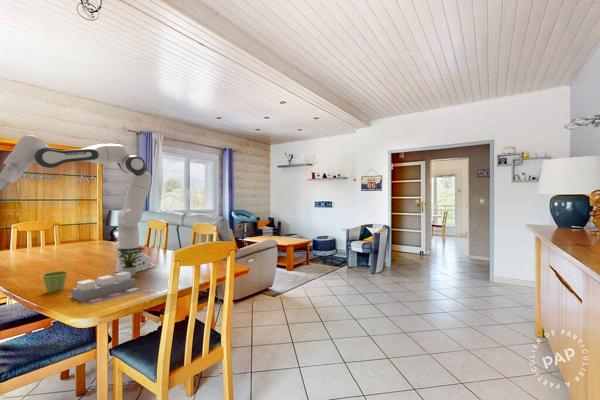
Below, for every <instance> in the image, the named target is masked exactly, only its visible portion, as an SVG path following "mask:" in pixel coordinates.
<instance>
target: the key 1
mask: <svg viewBox="0 0 600 400" xmlns="http://www.w3.org/2000/svg"><path fill="white" fill-rule="evenodd" d="M95 283H96V280H93V279H90V278H89V279H84V280H80V281H76V288H77V290H80V291H85V290H89V289H93V288H95Z"/></svg>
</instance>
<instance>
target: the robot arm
mask: <svg viewBox="0 0 600 400" xmlns="http://www.w3.org/2000/svg"><path fill="white" fill-rule="evenodd" d="M76 162H77V163H78V162H89V163H92V164H98V165H99V164H103V165H104V164H112V163H113V164H114V163H117V165H118V167H119V168H120V170H121V171H122V172H124V173H126V174H130V175H131V181H130V183H129V186H128V188H127V192H126V194H125V199H124V202H123V206H122V209H121V210H120V211H119V212H118V214H117V231H118V247H117V254H116V255H117V261H116V267H115V270H114V272H115V273H120V272H123V269H122V267H123V266H126V265H125V263H120V262H123V261H120V259H122V260H124V259H123V258H122V257H123V256H122V257H121V255H118V254H122V252H123V254H125V256H126V255H127V256H126V257H128V251H130V250H131V253H133V252H134V251H135V250H136V251H135V252H134V254H133V256H132V258H133V257H134V255H135V254H136V253H138V252H139V251H140V252H139V253H140V255H139V253H138V254H137V255H136V256H135V258H136V257H138V256H142V257H139V258H137V259H141V261H138V260H137V259H136V261H137V262H136V264H135V263H134V264H133V265H136V266H137V267H136V272H135V273H137V272H138V271H139V272H141V270H142V271H145V270H149V269H152V268H155V267H156V264H155V263H152V259H151V257H150V256H149V255H147V254H145V253H144V252H142V251H145V250H146V248H145V247H144V246H140V231H139V223H140V222H141V219H142V218H143V217H142V216H143V212H144V208H145V203H146V199H147V196H148V194H149V190H150V188H151V183H152V178H153V177H152V174H151V173H149V171H147V167H146V161H145V160H144V158H142V157H141V156H139V155H135V154H134V155H130V154H129V153H128V150H127V149H126V147H125V146H124V145H122V144H117V143H116V144H114V143H107V144H105V143H102V144H95V145H92V146H87V147H84V148H80V149H66V150H65V149H64V150H61V149H56V148H53V147H50V146H48V145H47V144H46V142H45V140H44V139H43V138H40V137H38V136H35V135H29V134H27V135H24V136H22V137H21V138H20V139H19V140H18V141H17V142H16V144H15V145H14V147H13V150H12V151H11V152H10V153H9V154H8V155H7V157H6V158H5V160H4V161H3V164H4V165H5V166H4V167H3V169H2V170H0V190H2V191H6V190H7V188H8V187H9V186H11V184H15V183H16V182H17V181H18V180H19V179H20V177H21V176H22V175H23V173H26V172H27V171H29V169H30V167H31V165H32V163H34V164H36V165H38V166H39V167H41V168H43V169H48V170H49V169H54V168H56V167H59V166H61V165H62V164H67V163H76ZM123 254H122V255H123ZM127 260H128V259H127ZM131 260H132V259H131ZM124 261H125V260H124ZM120 264H121V265H120ZM148 268H149V269H148Z"/></svg>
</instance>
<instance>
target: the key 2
mask: <svg viewBox="0 0 600 400" xmlns="http://www.w3.org/2000/svg"><path fill="white" fill-rule="evenodd" d="M131 278H132V276H131V273H129V272H115V273H114V279H115V280H116V281H119V282H121V281H125V280H129V279H131Z"/></svg>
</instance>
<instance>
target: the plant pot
mask: <svg viewBox="0 0 600 400" xmlns="http://www.w3.org/2000/svg"><path fill="white" fill-rule="evenodd" d="M68 273H69V272H68V271H66V270H65V271H64V270H60V271H51V272H47V273H43V274H42V275H41V276H42V278H43V281H44V285H45V289H46V293H47V294H51V293H55V292H60V291H64V289H65V284H66V277H67V275H68Z"/></svg>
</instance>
